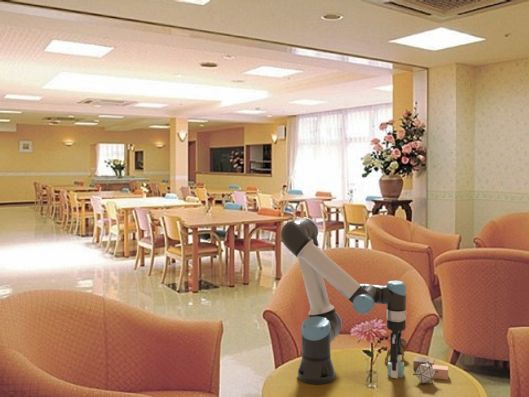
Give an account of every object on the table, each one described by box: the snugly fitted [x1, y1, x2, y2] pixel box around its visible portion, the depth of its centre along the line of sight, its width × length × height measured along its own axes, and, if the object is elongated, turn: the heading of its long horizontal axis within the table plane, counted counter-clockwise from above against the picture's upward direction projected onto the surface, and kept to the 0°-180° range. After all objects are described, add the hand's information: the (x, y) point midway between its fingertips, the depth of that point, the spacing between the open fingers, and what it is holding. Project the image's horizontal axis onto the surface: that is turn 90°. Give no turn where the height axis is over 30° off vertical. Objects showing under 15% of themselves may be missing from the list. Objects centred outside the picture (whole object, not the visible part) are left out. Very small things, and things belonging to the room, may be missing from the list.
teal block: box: [387, 361, 405, 378], centre depth 216 cm, size 6×4×5 cm, turn 68°
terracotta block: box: [432, 364, 449, 380], centre depth 214 cm, size 6×4×4 cm, turn 72°
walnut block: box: [412, 356, 435, 371], centre depth 222 cm, size 8×5×4 cm, turn 68°
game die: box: [412, 361, 438, 386], centre depth 208 cm, size 9×8×10 cm
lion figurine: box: [384, 337, 407, 366], centre depth 230 cm, size 15×5×9 cm, turn 138°
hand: (395, 373), depth 217 cm, fingers open, 7 cm apart
